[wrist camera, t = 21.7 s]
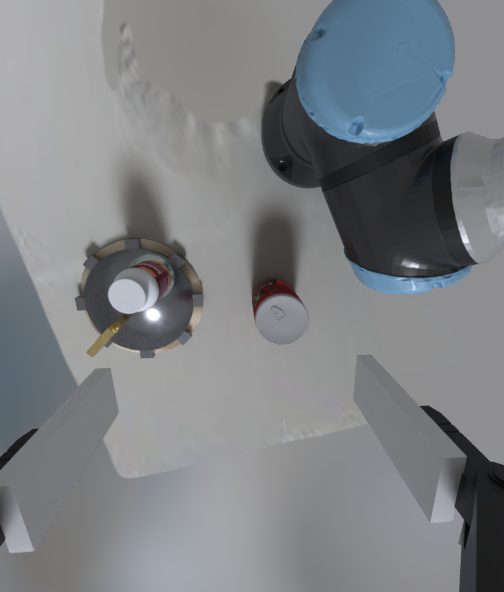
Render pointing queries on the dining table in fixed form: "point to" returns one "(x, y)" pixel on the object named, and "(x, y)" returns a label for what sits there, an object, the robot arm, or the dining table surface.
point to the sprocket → (145, 324)
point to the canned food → (279, 313)
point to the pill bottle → (139, 287)
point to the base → (168, 252)
